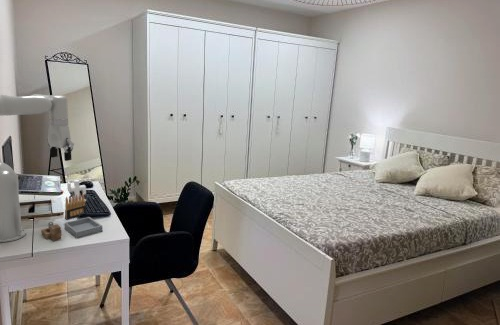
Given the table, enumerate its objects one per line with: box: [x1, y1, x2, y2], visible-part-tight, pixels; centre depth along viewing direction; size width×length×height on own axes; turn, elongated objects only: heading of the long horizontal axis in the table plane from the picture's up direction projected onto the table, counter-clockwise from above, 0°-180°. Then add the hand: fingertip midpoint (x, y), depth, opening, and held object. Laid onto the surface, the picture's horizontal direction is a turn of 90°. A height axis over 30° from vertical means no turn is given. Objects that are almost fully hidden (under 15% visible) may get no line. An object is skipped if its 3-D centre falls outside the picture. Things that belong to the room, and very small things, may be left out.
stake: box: [47, 221, 54, 232], centre depth 160 cm, size 2×2×6 cm
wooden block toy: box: [40, 224, 63, 242], centre depth 159 cm, size 6×10×6 cm, turn 48°
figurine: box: [66, 179, 87, 203], centre depth 196 cm, size 7×9×15 cm
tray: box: [63, 216, 104, 239], centre depth 168 cm, size 12×14×3 cm
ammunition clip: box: [64, 193, 87, 221], centre depth 182 cm, size 11×2×12 cm, turn 147°
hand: (61, 158), depth 165 cm, fingers open, 9 cm apart
